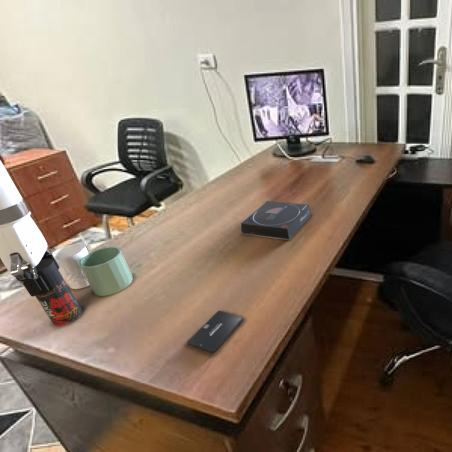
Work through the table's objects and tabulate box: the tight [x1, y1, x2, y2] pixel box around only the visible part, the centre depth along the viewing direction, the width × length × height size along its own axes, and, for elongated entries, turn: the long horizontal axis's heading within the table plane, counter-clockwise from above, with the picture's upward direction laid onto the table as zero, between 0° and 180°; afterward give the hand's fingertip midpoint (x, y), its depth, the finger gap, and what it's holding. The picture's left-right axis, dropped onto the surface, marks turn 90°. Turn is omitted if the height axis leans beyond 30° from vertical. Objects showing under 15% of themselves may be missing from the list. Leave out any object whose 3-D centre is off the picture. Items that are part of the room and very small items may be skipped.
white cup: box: [51, 242, 90, 290], centre depth 94 cm, size 8×8×10 cm
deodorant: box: [24, 258, 83, 327], centre depth 80 cm, size 6×6×15 cm
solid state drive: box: [186, 310, 244, 354], centre depth 75 cm, size 7×10×1 cm
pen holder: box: [79, 246, 134, 297], centre depth 92 cm, size 9×9×9 cm
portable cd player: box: [240, 200, 312, 241], centre depth 114 cm, size 16×17×4 cm
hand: (46, 281), depth 78 cm, fingers open, 9 cm apart
